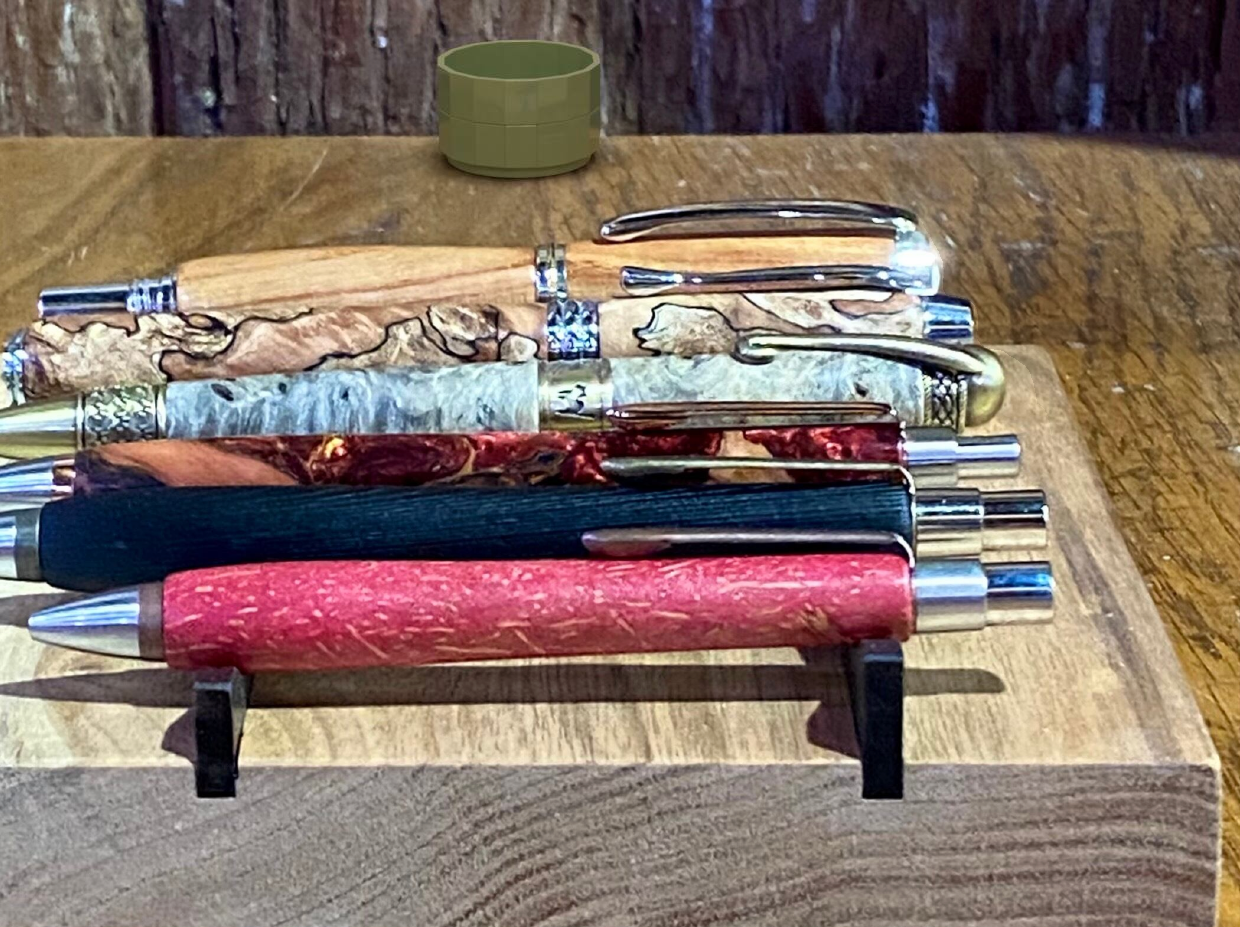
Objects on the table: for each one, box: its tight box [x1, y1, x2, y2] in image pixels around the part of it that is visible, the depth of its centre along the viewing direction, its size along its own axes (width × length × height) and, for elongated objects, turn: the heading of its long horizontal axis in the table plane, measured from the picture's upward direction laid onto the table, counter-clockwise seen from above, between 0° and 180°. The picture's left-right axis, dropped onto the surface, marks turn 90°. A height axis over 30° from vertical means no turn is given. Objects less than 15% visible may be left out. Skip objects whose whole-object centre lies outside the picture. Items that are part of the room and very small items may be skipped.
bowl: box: [437, 39, 601, 179], centre depth 114 cm, size 8×8×5 cm
